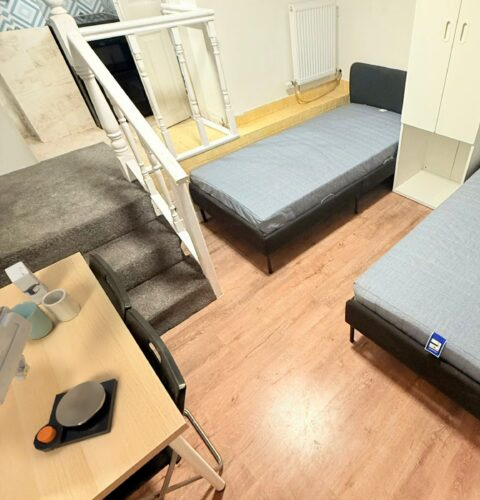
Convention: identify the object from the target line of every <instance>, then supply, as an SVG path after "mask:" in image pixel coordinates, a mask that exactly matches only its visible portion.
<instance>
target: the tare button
mask: <svg viewBox="0 0 480 500" xmlns="http://www.w3.org/2000/svg"><path fill="white" fill-rule="evenodd" d="M43 427H44V426H43ZM40 429H41V428H40ZM40 429H39V430H40ZM37 433H38V432H37ZM56 433H57V431H56V429H54V428H52V427H50V426H47V427H44V428H43V429H41V430H40V432H39V433H38V435H37V439H38V440H39V441H41V442H43V443H48V442H50V441H51V440H53V439H54V437H55V436H56Z"/></svg>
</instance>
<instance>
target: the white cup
mask: <svg viewBox="0 0 480 500" xmlns="http://www.w3.org/2000/svg"><path fill="white" fill-rule="evenodd" d="M41 302H42V303H41V305H42V306H43V307H44V308H45V309H46V310H47V311H48V312H49V313H50V314H51V315H52V316H53V317H54V318H56V319H57V320H58V321H59V322H68V321H71V320H73V319H74V318H75V317H76V316H78V314H79V313H80V312H81V307H80V305H79V304H78V303H77V302H76V300H75V299H73V297H72V296H71V295H70V294H69V292H67V291H66V289H63V288H56V289H53V290H51V291H49V293H48V294H46V295H45V296H44V297H43V299H42V301H41Z"/></svg>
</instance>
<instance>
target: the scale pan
mask: <svg viewBox="0 0 480 500" xmlns="http://www.w3.org/2000/svg"><path fill="white" fill-rule="evenodd" d="M66 392H67V391H66ZM104 400H105V389H104V387H103V386H102V385H101V384H100V382H98V381H95V380H88V381H83V382H81V383H78V384H77V385H75V386H73V387H72V388H70V389H69V390H68V392H67V393H66V394H65V395H64V397H63V398H62V399H61V401H60V402H59V404H58V406H57V410H56V418H57V421H58V422H59V423H60V424H61V425H63V426H66V427H75V426H78V425H81V424H83V423H85V422H87V421H88V420H90V419H91V418H92V417H93V416H94V415H95V414H96V413H97V412H98V411H99V410H100V408H101V406H102V405H103V402H104Z"/></svg>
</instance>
